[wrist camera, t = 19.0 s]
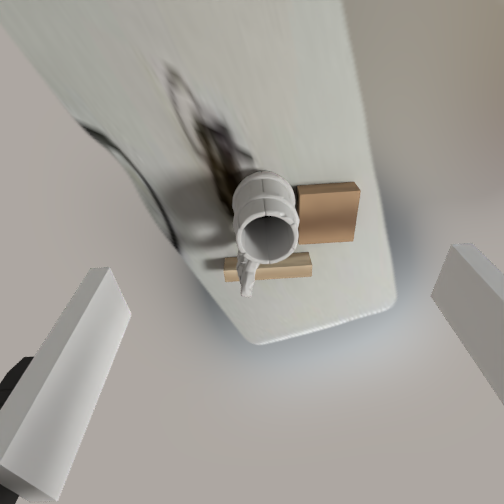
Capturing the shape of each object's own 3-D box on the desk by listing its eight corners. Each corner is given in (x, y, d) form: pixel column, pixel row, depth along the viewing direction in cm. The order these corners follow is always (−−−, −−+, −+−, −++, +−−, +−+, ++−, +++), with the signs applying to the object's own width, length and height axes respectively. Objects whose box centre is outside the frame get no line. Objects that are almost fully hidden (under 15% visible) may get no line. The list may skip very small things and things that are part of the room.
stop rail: (225, 257, 44) (223, 270, 41) (308, 252, 43) (312, 264, 41) (226, 268, 45) (225, 281, 42) (308, 263, 44) (311, 276, 42)
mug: (304, 180, 37) (324, 231, 27) (267, 254, 43) (272, 316, 34) (245, 158, 35) (244, 204, 26) (215, 238, 42) (205, 299, 32)
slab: (296, 184, 38) (300, 194, 35) (353, 180, 38) (360, 190, 35) (295, 232, 42) (298, 244, 39) (346, 229, 42) (353, 241, 39)
